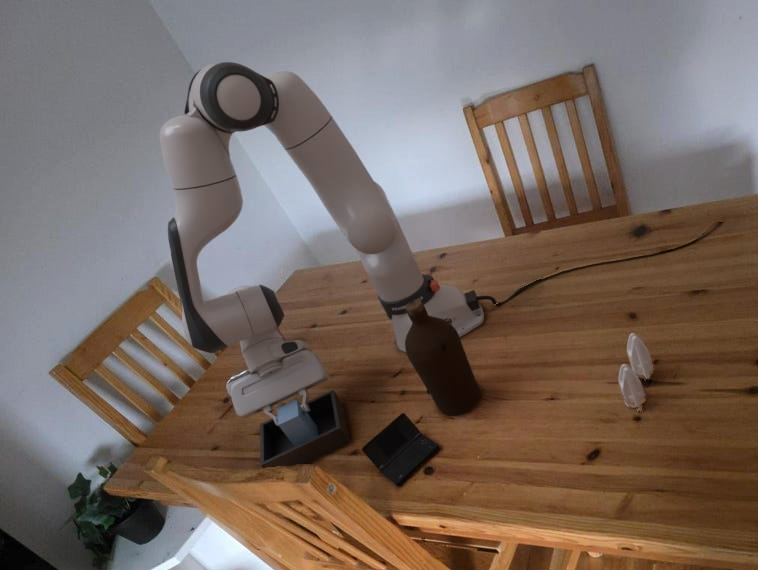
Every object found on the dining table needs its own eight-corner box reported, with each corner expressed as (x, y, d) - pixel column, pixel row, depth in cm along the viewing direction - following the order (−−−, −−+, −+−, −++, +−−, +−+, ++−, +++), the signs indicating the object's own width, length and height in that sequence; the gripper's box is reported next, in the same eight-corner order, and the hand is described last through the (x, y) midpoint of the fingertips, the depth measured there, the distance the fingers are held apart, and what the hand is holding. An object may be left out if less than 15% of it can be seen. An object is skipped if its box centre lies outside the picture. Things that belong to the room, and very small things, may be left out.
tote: (343, 404, 135) (333, 389, 132) (350, 443, 124) (340, 427, 121) (271, 438, 134) (259, 424, 131) (273, 480, 123) (260, 465, 120)
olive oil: (490, 382, 124) (449, 285, 109) (472, 420, 118) (425, 322, 103) (447, 380, 129) (401, 288, 114) (427, 417, 123) (376, 323, 107)
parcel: (317, 426, 131) (296, 398, 126) (319, 444, 127) (298, 415, 121) (298, 435, 131) (277, 407, 126) (300, 453, 126) (278, 425, 121)
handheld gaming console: (403, 484, 108) (367, 442, 108) (390, 491, 114) (356, 451, 114) (444, 445, 115) (411, 405, 114) (430, 453, 121) (398, 415, 120)
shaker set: (636, 364, 115) (626, 320, 108) (658, 365, 113) (650, 320, 106) (620, 410, 107) (608, 365, 101) (643, 412, 105) (633, 367, 99)
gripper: (216, 379, 123) (242, 439, 122) (307, 336, 124) (333, 396, 123) (229, 382, 130) (253, 440, 128) (315, 341, 131) (341, 398, 129)
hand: (293, 418), depth 125 cm, fingers closed on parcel, 4 cm apart
